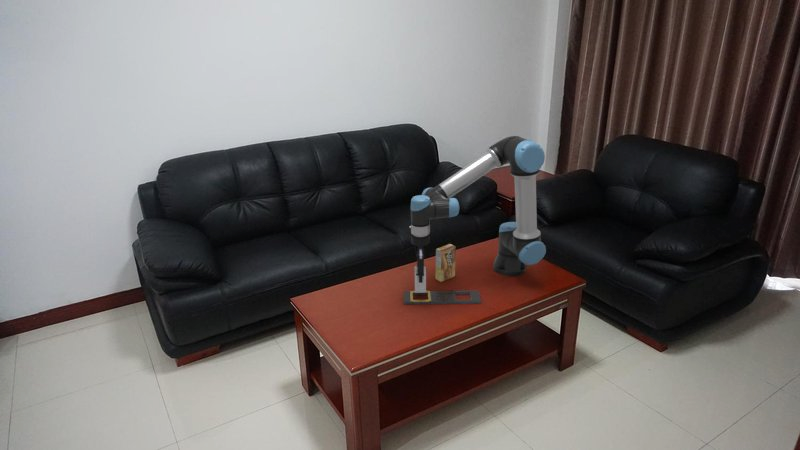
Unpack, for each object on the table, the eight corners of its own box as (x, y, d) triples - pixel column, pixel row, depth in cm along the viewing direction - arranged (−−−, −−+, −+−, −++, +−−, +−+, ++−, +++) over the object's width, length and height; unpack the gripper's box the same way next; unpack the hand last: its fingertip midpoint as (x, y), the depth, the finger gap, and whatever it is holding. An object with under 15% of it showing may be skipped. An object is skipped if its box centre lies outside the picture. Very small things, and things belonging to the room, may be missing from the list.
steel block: (425, 287, 209) (425, 266, 205) (425, 292, 205) (425, 270, 201) (414, 287, 209) (414, 266, 206) (415, 292, 205) (414, 271, 201)
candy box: (448, 273, 230) (449, 243, 225) (455, 276, 227) (456, 246, 222) (435, 279, 225) (435, 248, 220) (441, 282, 222) (441, 251, 216)
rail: (478, 293, 212) (478, 290, 212) (481, 303, 204) (481, 300, 203) (403, 293, 213) (403, 290, 212) (403, 304, 204) (403, 301, 204)
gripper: (410, 226, 206) (411, 276, 214) (411, 242, 190) (411, 295, 198) (428, 225, 206) (428, 275, 214) (430, 242, 190) (430, 295, 198)
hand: (420, 285), depth 206 cm, fingers closed on steel block, 4 cm apart
